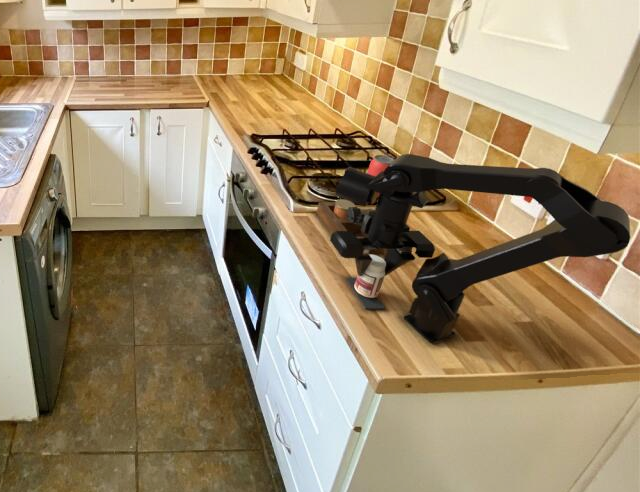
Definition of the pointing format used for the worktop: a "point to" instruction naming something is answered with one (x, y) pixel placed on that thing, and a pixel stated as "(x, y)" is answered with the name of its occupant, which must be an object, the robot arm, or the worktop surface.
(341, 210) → the orange brown jar
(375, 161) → the beer can
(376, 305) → the slate mat
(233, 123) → the worktop surface
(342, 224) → the pod stand
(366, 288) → the pill bottle
